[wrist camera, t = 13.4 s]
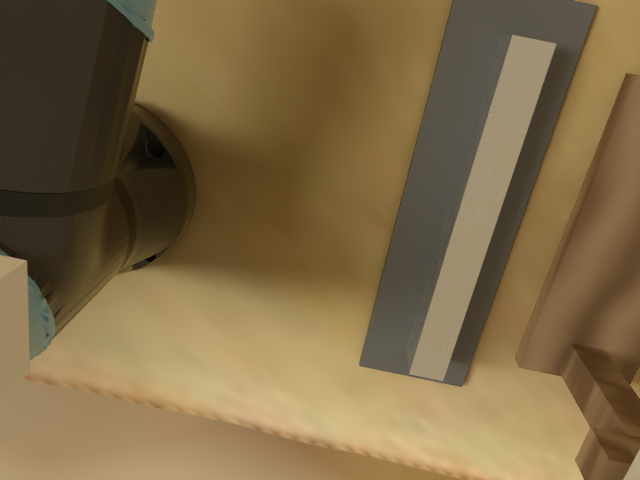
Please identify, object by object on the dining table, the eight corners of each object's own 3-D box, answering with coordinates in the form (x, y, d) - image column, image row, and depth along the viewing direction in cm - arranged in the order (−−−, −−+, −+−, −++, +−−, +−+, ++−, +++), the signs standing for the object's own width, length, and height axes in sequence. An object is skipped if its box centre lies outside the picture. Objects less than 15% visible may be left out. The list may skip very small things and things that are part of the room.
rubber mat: (359, 362, 52) (359, 365, 51) (458, -22, 39) (459, -23, 38) (461, 383, 52) (461, 387, 51) (594, 5, 39) (596, 5, 38)
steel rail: (405, 348, 50) (409, 374, 47) (498, 33, 40) (512, 34, 36) (437, 354, 50) (442, 381, 47) (538, 41, 40) (556, 43, 36)
